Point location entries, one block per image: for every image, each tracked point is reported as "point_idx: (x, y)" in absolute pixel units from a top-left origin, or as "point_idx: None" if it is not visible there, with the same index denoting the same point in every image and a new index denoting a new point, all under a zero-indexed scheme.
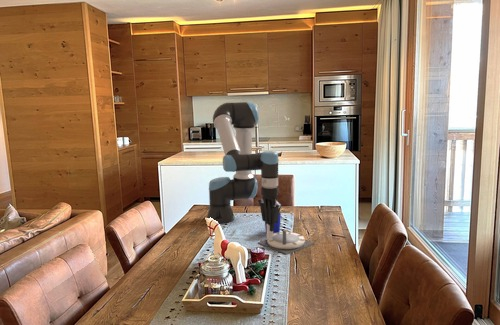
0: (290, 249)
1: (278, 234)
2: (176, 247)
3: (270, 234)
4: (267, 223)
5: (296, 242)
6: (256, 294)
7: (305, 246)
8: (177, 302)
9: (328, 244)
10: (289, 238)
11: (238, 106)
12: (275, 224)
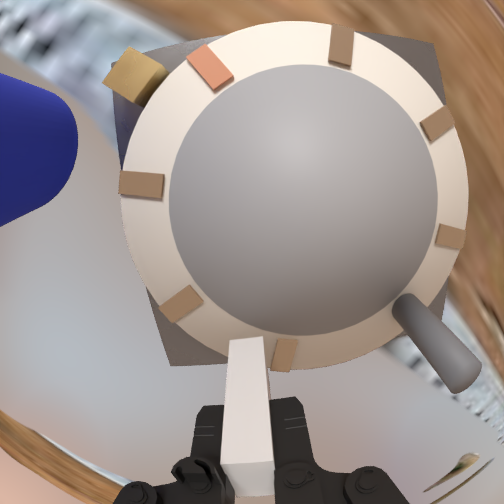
0: None
1: (176, 203)
2: (106, 501)
3: (269, 389)
4: (231, 491)
5: (446, 203)
6: (467, 461)
7: None
8: None
9: (459, 5)
10: (348, 185)
11: None
12: (24, 160)
